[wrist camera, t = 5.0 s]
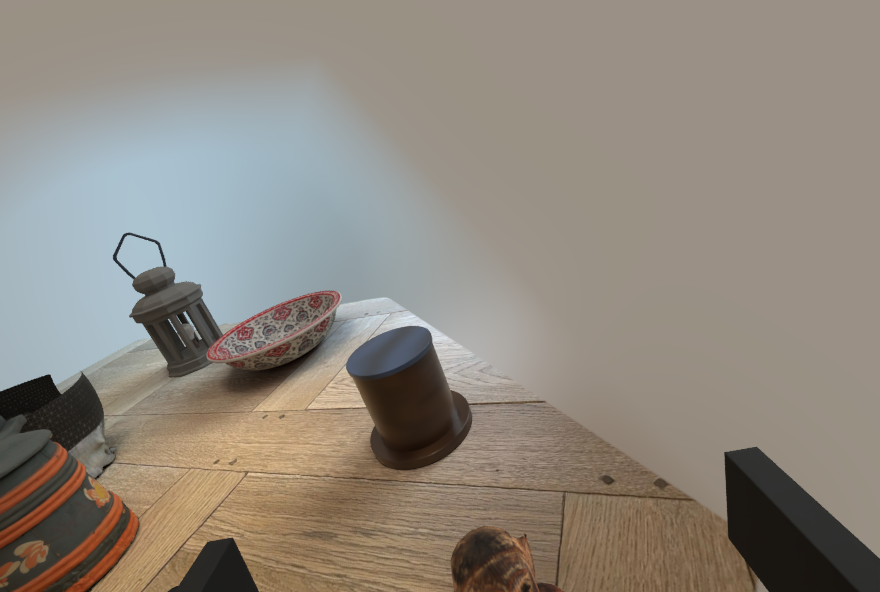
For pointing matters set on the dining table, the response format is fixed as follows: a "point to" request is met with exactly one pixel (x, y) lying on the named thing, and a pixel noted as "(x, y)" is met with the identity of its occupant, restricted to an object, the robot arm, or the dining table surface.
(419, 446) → the pedestal
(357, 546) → the dining table surface
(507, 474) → the dining table surface
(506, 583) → the figurine
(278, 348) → the ceramic bowl
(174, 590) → the smartphone
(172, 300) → the lantern
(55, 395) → the basket
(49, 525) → the tankard
